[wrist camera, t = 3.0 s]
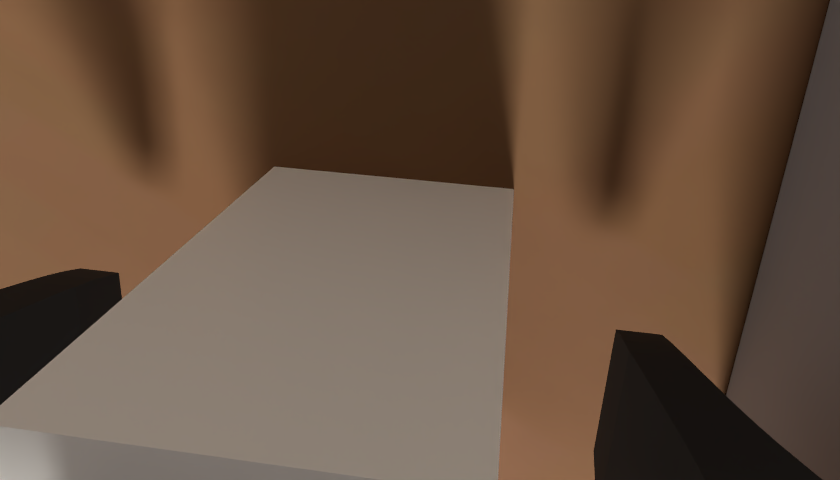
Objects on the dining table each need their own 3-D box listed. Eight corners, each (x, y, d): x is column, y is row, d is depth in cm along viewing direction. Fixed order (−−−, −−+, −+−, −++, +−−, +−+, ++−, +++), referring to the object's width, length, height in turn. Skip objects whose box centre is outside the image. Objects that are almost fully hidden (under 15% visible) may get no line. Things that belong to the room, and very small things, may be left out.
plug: (491, 396, 13) (447, 941, 6) (279, 370, 13) (0, 848, 6) (514, 189, 11) (492, 589, 4) (274, 166, 12) (-106, 496, 5)
